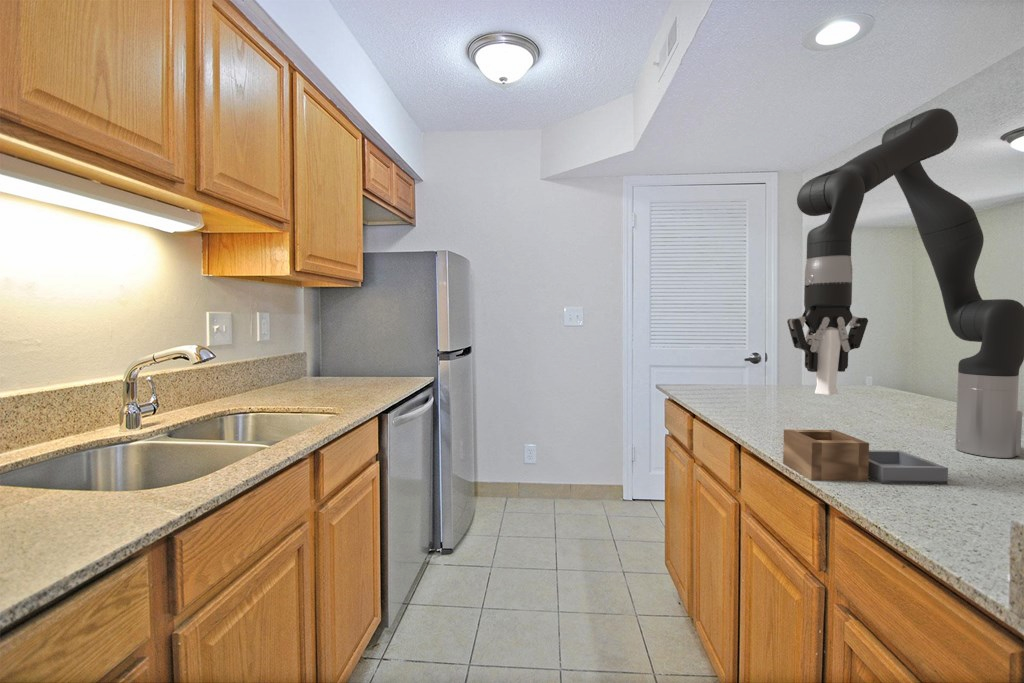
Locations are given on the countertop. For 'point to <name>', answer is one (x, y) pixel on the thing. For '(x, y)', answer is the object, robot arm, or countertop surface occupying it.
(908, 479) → the tray
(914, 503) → the countertop surface
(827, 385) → the perfume bottle
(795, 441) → the wooden cubby box
